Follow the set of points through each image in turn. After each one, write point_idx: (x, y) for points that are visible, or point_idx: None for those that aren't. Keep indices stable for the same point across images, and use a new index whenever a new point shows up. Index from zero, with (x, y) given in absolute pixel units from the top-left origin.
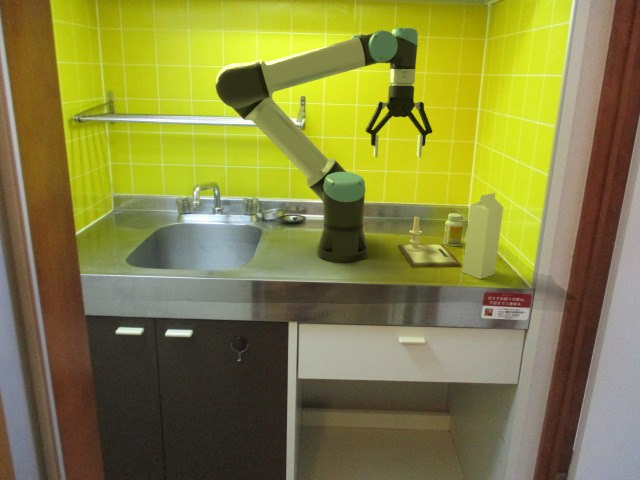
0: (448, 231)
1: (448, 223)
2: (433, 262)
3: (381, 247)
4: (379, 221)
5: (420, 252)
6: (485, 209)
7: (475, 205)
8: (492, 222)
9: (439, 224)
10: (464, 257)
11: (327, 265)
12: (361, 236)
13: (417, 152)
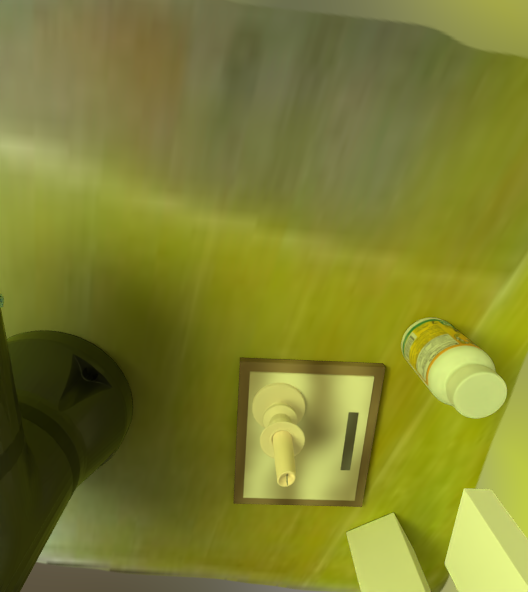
0: (422, 380)
1: (434, 391)
2: (294, 498)
3: (186, 356)
4: (250, 14)
5: None
6: None
7: None
8: None
9: (507, 99)
10: (355, 569)
11: None
12: (82, 481)
13: (480, 554)
